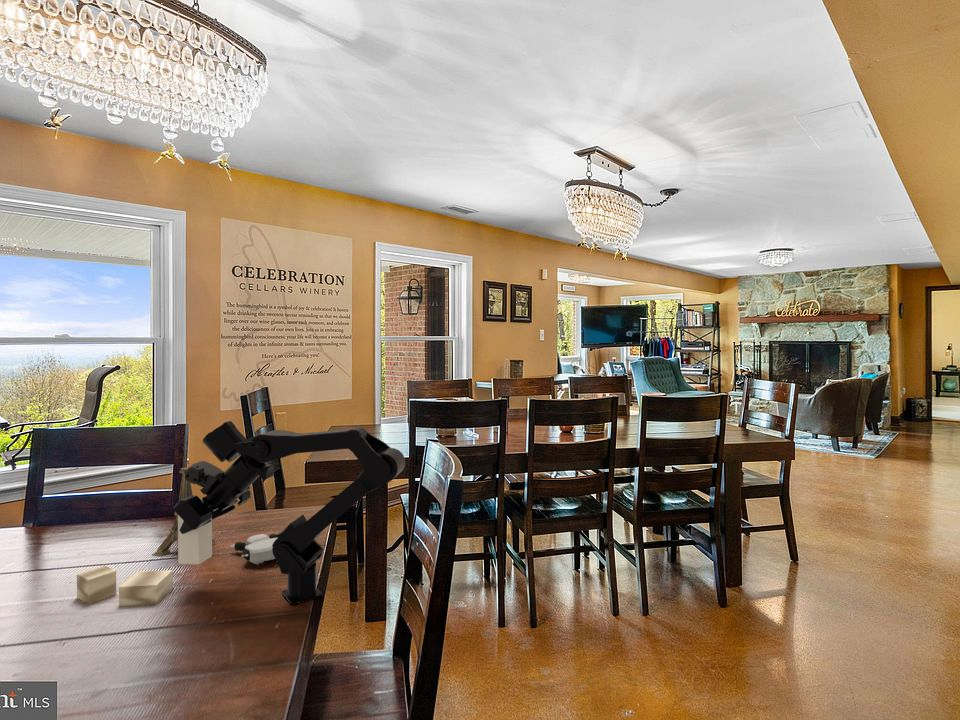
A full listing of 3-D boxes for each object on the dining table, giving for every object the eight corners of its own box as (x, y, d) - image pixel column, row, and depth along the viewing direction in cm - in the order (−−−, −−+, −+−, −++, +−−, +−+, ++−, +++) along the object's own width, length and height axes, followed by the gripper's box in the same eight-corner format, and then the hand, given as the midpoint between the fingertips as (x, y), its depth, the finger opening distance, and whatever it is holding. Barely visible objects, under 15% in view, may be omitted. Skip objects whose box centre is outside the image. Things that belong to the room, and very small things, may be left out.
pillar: (212, 555, 112) (211, 500, 112) (198, 564, 108) (198, 506, 107) (192, 554, 113) (192, 499, 112) (178, 563, 108) (177, 506, 108)
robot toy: (227, 557, 130) (248, 572, 118) (227, 539, 130) (247, 552, 119) (277, 545, 138) (300, 558, 127) (276, 527, 138) (300, 539, 127)
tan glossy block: (172, 588, 111) (172, 570, 111) (156, 604, 104) (156, 585, 104) (137, 590, 110) (137, 571, 110) (118, 607, 103) (118, 586, 103)
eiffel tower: (184, 561, 125) (183, 457, 124) (151, 555, 128) (150, 454, 128) (219, 545, 135) (218, 449, 134) (188, 540, 138) (187, 446, 138)
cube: (116, 594, 108) (116, 570, 108) (88, 604, 104) (88, 579, 104) (104, 588, 111) (104, 565, 111) (76, 598, 107) (76, 574, 106)
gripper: (237, 441, 118) (192, 488, 120) (182, 459, 100) (129, 514, 101) (270, 477, 118) (225, 523, 119) (221, 501, 99) (167, 556, 101)
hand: (189, 528), depth 110 cm, fingers closed on pillar, 4 cm apart
